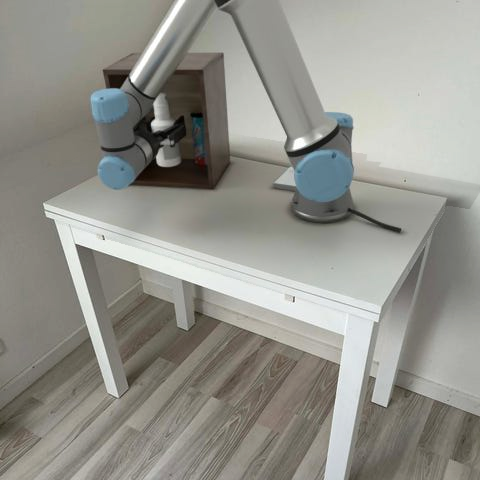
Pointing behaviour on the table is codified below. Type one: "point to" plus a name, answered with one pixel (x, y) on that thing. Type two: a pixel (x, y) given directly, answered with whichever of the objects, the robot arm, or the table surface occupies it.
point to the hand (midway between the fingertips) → (170, 120)
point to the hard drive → (286, 180)
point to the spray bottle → (162, 122)
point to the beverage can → (199, 138)
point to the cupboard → (187, 119)
